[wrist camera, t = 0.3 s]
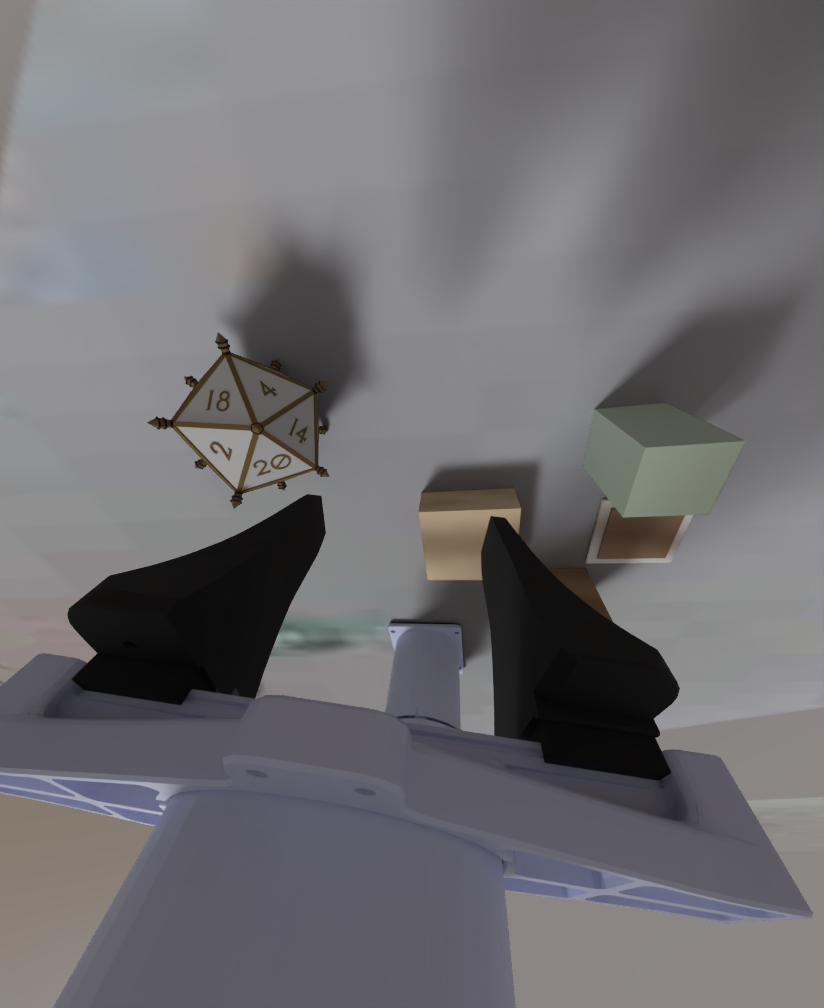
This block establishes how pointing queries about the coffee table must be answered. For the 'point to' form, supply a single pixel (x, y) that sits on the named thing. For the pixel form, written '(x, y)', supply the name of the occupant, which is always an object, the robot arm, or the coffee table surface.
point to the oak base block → (461, 529)
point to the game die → (250, 423)
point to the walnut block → (581, 587)
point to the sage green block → (658, 460)
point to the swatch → (635, 537)
